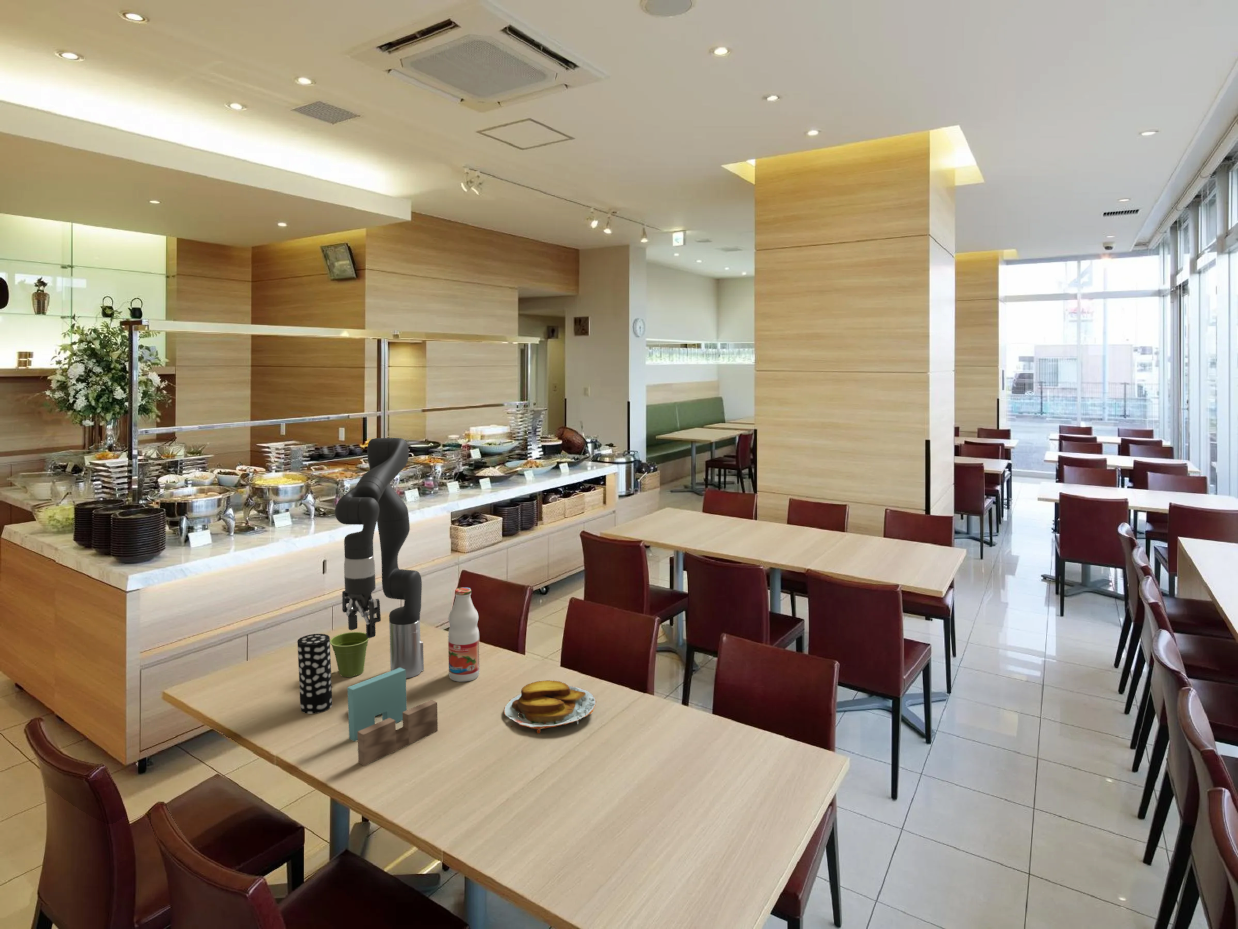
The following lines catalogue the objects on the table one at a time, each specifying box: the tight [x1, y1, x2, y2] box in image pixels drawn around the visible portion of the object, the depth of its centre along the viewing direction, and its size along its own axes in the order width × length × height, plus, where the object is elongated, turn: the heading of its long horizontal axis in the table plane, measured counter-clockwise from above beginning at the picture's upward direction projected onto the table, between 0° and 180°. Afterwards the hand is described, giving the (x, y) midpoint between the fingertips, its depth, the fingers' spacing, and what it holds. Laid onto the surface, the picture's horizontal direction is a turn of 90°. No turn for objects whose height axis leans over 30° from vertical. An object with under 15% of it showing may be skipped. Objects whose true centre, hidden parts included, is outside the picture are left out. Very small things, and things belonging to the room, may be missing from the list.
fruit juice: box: [447, 587, 480, 683], centre depth 224 cm, size 9×9×28 cm
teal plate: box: [346, 668, 408, 742], centre depth 192 cm, size 2×16×14 cm, turn 142°
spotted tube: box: [297, 633, 333, 715], centre depth 203 cm, size 8×8×20 cm
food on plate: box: [503, 679, 597, 734], centre depth 203 cm, size 26×26×7 cm
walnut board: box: [357, 699, 439, 767], centre depth 184 cm, size 22×2×8 cm, turn 142°
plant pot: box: [330, 631, 371, 678], centre depth 226 cm, size 12×12×11 cm
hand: (361, 633), depth 189 cm, fingers open, 8 cm apart
